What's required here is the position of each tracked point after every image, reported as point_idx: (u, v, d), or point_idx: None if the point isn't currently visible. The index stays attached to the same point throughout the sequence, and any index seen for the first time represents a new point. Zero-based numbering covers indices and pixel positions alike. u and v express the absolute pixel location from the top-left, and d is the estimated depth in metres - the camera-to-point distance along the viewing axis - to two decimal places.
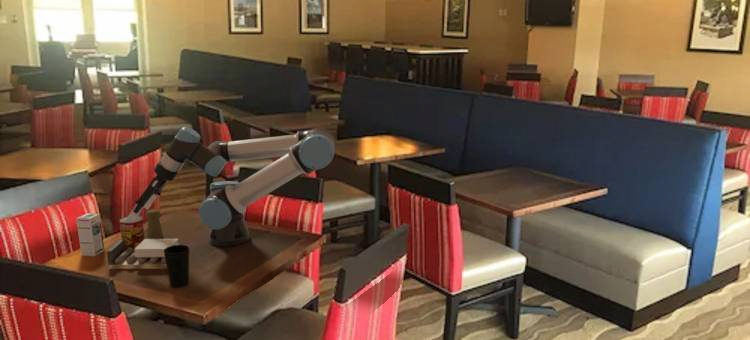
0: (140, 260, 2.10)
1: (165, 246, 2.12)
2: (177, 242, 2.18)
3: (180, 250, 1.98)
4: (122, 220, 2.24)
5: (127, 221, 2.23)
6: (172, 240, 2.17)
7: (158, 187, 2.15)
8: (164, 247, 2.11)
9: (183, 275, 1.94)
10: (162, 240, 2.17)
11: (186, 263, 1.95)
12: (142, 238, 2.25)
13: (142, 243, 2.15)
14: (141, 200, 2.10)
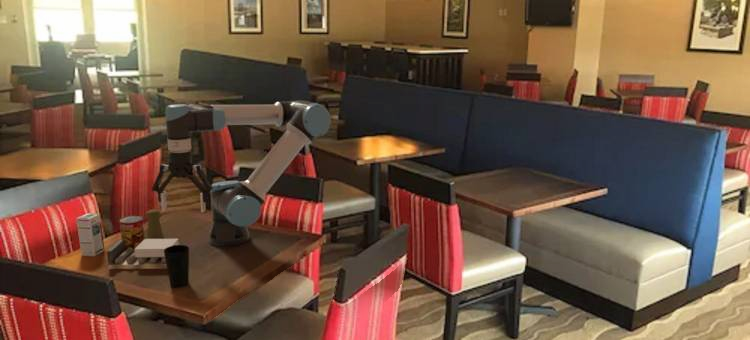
0: (140, 260, 2.10)
1: (165, 246, 2.12)
2: (177, 242, 2.18)
3: (180, 250, 1.98)
4: (122, 220, 2.24)
5: (127, 221, 2.23)
6: (172, 240, 2.17)
7: (191, 171, 2.10)
8: (164, 247, 2.11)
9: (183, 275, 1.94)
10: (162, 240, 2.17)
11: (186, 263, 1.95)
12: (142, 238, 2.25)
13: (142, 243, 2.15)
14: (209, 185, 2.09)
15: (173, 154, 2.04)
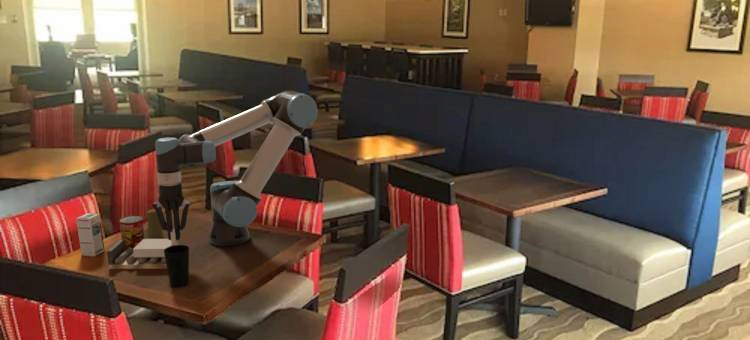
0: (140, 260, 2.10)
1: (164, 246, 2.12)
2: None
3: (180, 250, 1.98)
4: (122, 220, 2.24)
5: (127, 221, 2.23)
6: None
7: None
8: (162, 247, 2.11)
9: (183, 275, 1.94)
10: (161, 240, 2.17)
11: (186, 263, 1.95)
12: (142, 238, 2.25)
13: (141, 243, 2.15)
14: (184, 224, 2.12)
15: (164, 187, 2.06)
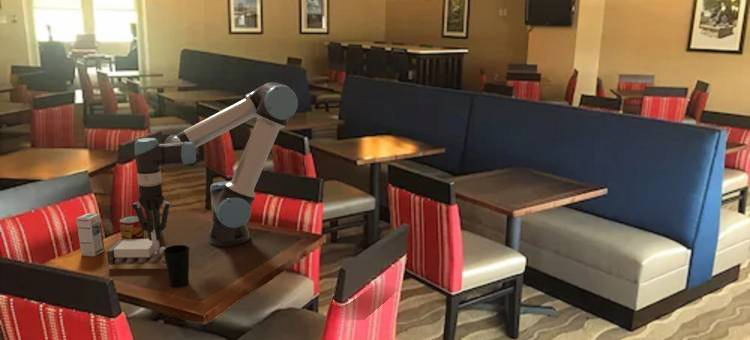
0: (140, 260, 2.10)
1: (144, 246, 2.12)
2: None
3: (180, 250, 1.98)
4: (122, 220, 2.24)
5: (127, 221, 2.23)
6: None
7: None
8: (143, 247, 2.11)
9: (183, 275, 1.94)
10: (142, 240, 2.17)
11: (186, 263, 1.95)
12: (142, 238, 2.25)
13: (121, 243, 2.15)
14: (165, 224, 2.12)
15: (143, 188, 2.06)
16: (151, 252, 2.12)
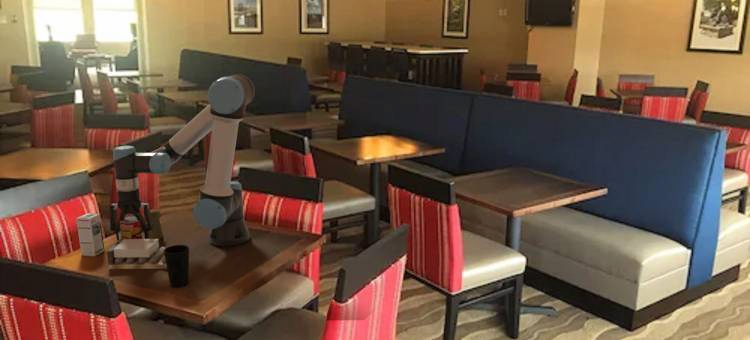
0: (140, 260, 2.10)
1: (144, 246, 2.12)
2: (157, 242, 2.18)
3: (180, 250, 1.98)
4: (122, 220, 2.24)
5: (127, 221, 2.23)
6: (152, 240, 2.17)
7: (139, 207, 2.25)
8: (143, 247, 2.11)
9: (182, 275, 1.94)
10: (142, 240, 2.17)
11: (186, 263, 1.95)
12: None
13: (121, 243, 2.15)
14: (151, 224, 2.25)
15: (121, 193, 2.19)
16: (151, 252, 2.12)
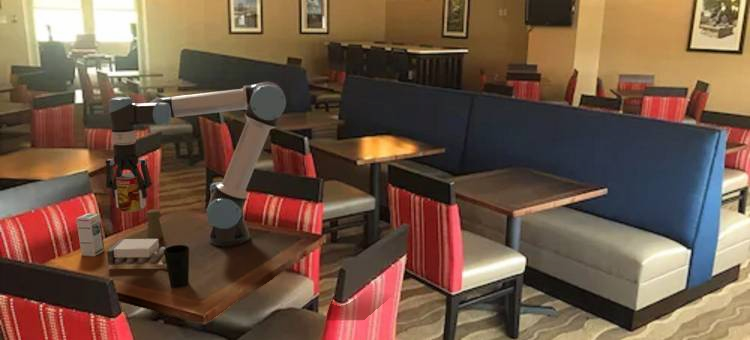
0: (140, 260, 2.10)
1: (144, 246, 2.12)
2: (157, 242, 2.18)
3: (180, 250, 1.98)
4: None
5: (123, 177, 2.10)
6: (152, 240, 2.17)
7: None
8: (143, 247, 2.11)
9: (183, 275, 1.94)
10: (142, 240, 2.17)
11: (186, 263, 1.95)
12: (139, 196, 2.13)
13: (121, 243, 2.15)
14: (149, 181, 2.12)
15: (117, 146, 2.06)
16: (151, 252, 2.12)
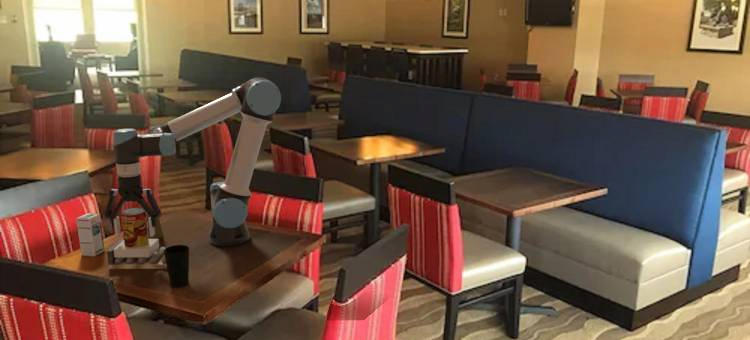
0: (140, 260, 2.10)
1: (144, 246, 2.12)
2: (157, 242, 2.18)
3: (180, 250, 1.98)
4: (124, 212, 2.10)
5: (129, 213, 2.09)
6: (152, 240, 2.17)
7: (141, 194, 2.11)
8: (143, 247, 2.11)
9: (183, 275, 1.94)
10: None
11: (186, 263, 1.95)
12: (145, 231, 2.12)
13: (121, 243, 2.15)
14: (158, 210, 2.11)
15: (122, 178, 2.05)
16: (151, 252, 2.12)
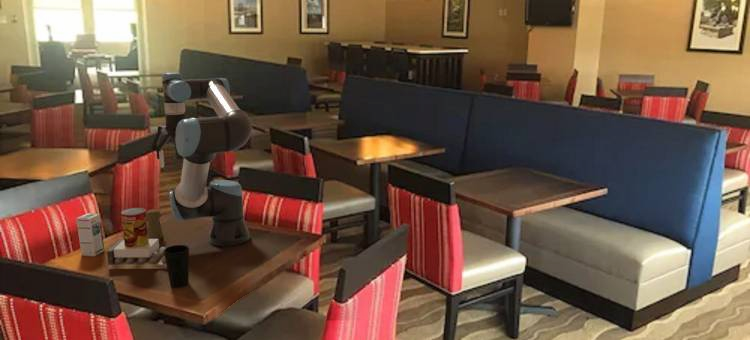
0: (140, 260, 2.10)
1: (144, 246, 2.12)
2: (157, 242, 2.18)
3: (180, 250, 1.98)
4: (124, 212, 2.10)
5: (129, 213, 2.09)
6: (152, 240, 2.17)
7: None
8: (143, 247, 2.11)
9: (183, 275, 1.94)
10: None
11: (186, 263, 1.95)
12: (145, 231, 2.12)
13: (122, 243, 2.15)
14: None
15: (170, 116, 2.32)
16: (151, 252, 2.12)
